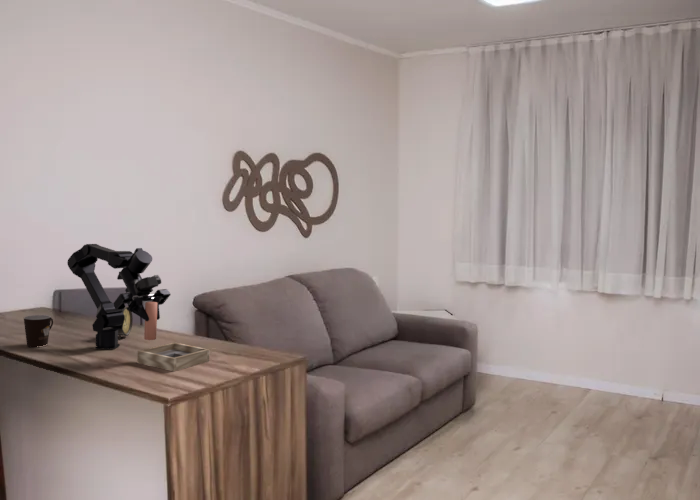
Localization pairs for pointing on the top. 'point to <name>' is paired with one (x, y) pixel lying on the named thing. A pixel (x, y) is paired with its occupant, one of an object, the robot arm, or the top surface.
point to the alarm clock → (126, 323)
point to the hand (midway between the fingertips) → (153, 319)
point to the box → (173, 356)
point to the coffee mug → (37, 329)
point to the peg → (151, 321)
